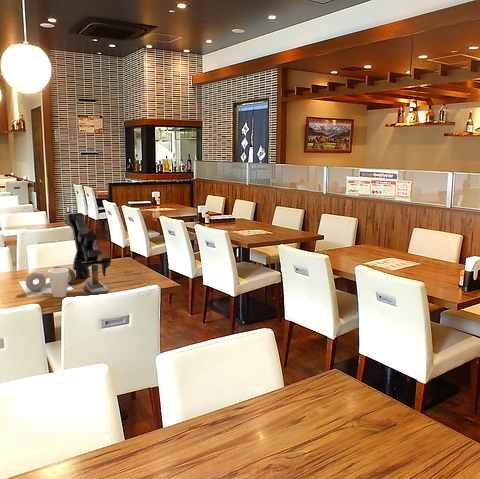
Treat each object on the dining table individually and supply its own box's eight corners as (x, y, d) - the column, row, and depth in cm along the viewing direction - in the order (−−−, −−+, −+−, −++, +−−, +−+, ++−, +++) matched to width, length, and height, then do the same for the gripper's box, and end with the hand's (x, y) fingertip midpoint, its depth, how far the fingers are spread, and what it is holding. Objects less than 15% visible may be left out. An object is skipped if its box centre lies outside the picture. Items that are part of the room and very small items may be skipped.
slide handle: (89, 286, 251) (88, 264, 249) (99, 284, 254) (98, 263, 252) (91, 288, 247) (91, 266, 245) (101, 287, 250) (100, 265, 248)
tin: (76, 283, 261) (75, 268, 260) (72, 285, 258) (71, 269, 257) (53, 280, 266) (52, 266, 265) (49, 282, 263) (48, 267, 262)
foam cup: (71, 293, 244) (70, 268, 241) (67, 298, 235) (66, 272, 232) (51, 293, 242) (50, 268, 240) (47, 299, 233) (45, 272, 231)
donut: (27, 293, 242) (26, 273, 240) (25, 291, 244) (23, 272, 243) (47, 289, 249) (46, 270, 247) (45, 288, 251) (43, 269, 249)
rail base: (83, 287, 253) (82, 282, 253) (101, 285, 258) (101, 280, 258) (90, 294, 241) (90, 289, 241) (109, 292, 246) (109, 286, 246)
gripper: (73, 245, 245) (79, 270, 238) (109, 242, 255) (116, 266, 248) (70, 257, 253) (76, 282, 246) (105, 253, 263) (112, 278, 256)
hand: (95, 277), depth 249 cm, fingers open, 9 cm apart
